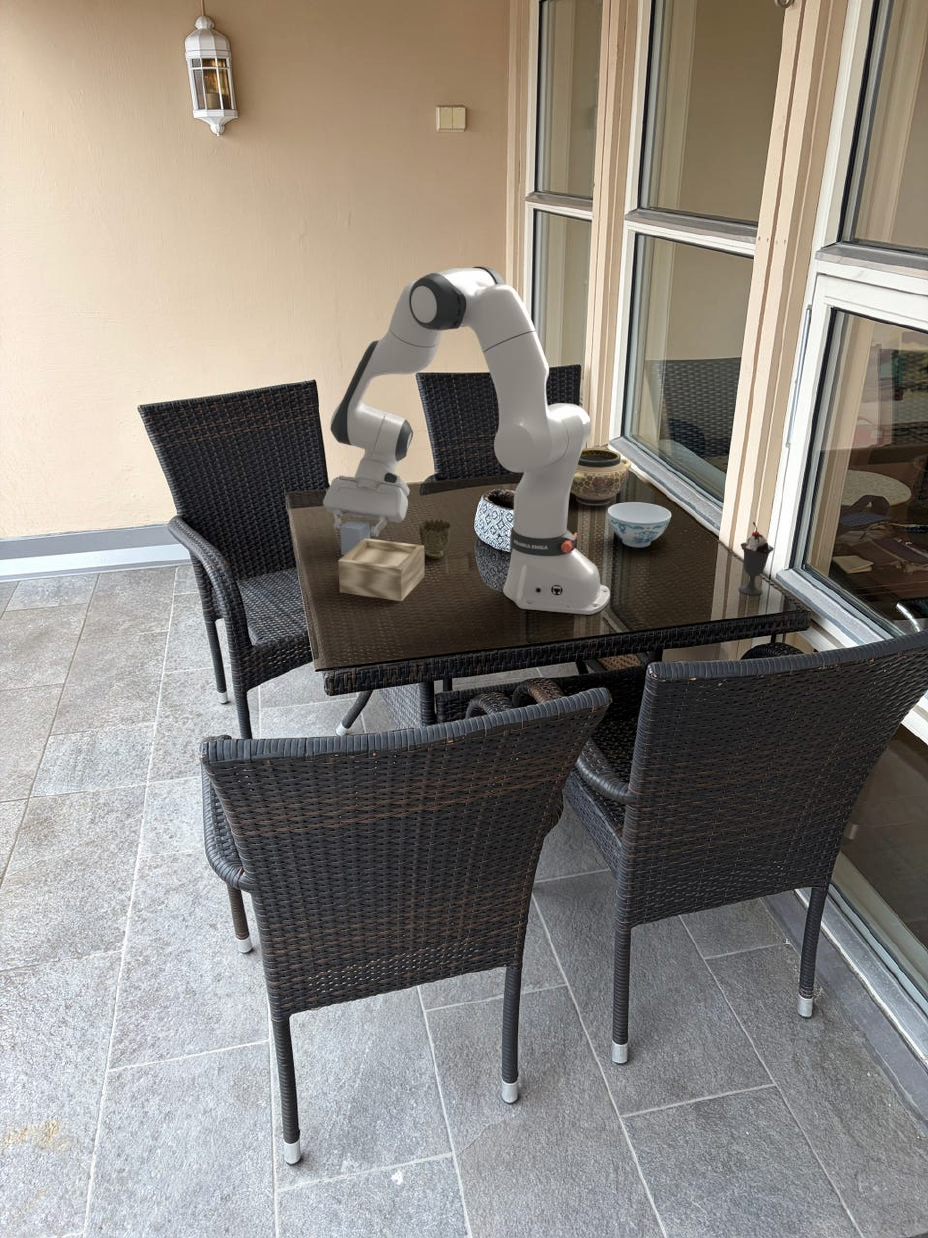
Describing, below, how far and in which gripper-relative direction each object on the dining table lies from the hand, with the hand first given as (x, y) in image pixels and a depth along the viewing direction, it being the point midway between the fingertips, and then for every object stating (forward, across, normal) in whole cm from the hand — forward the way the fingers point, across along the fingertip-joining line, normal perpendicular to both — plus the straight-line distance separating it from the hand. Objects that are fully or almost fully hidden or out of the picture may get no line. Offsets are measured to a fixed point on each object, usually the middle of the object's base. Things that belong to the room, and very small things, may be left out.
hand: (355, 532), depth 216 cm
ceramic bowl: (-39, +41, +46) cm, 73 cm away
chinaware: (-20, +59, +27) cm, 68 cm away
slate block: (+4, 0, +4) cm, 5 cm away
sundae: (-6, +88, +14) cm, 89 cm away
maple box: (+14, +14, -6) cm, 21 cm away
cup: (0, +18, +7) cm, 19 cm away
